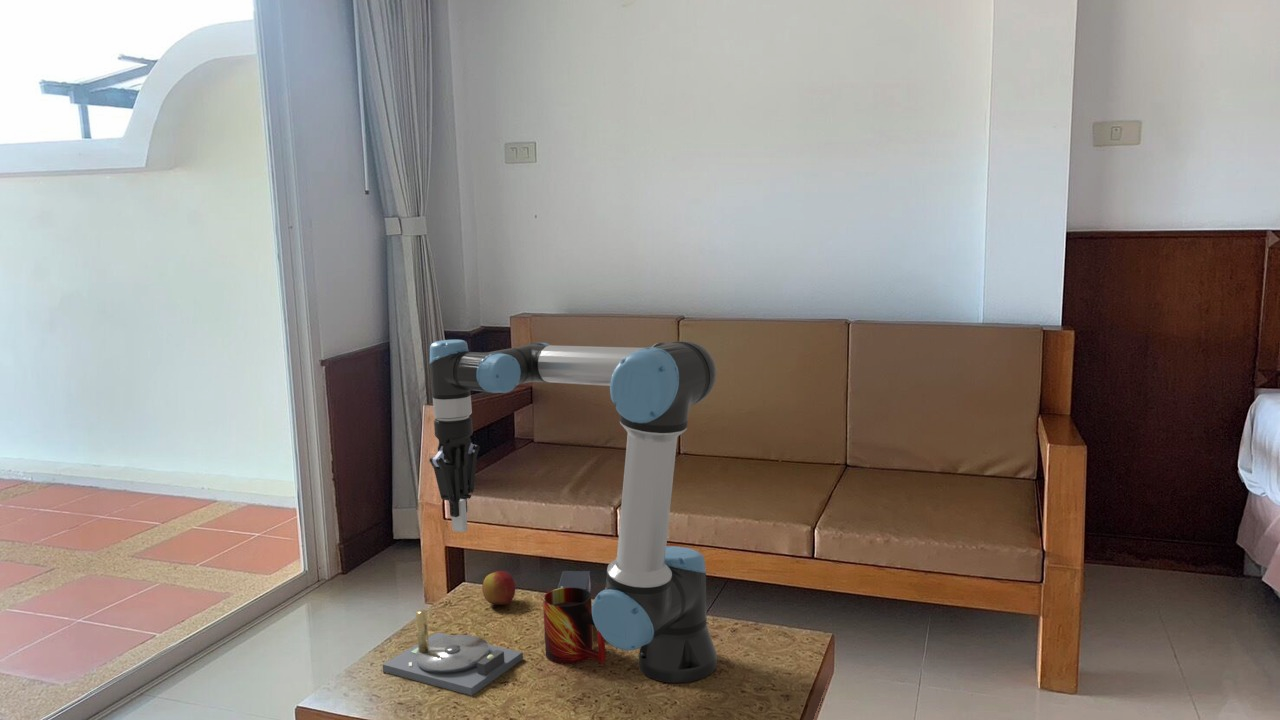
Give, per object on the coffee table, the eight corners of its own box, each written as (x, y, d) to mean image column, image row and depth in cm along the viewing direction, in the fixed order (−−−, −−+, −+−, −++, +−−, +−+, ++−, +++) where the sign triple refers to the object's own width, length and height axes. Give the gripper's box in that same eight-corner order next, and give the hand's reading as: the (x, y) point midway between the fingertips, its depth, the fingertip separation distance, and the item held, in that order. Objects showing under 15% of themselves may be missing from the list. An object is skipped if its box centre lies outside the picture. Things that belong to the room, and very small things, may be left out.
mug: (604, 669, 180) (602, 610, 178) (538, 662, 183) (535, 604, 182) (619, 647, 189) (617, 590, 187) (556, 640, 193) (553, 585, 191)
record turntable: (522, 659, 185) (521, 639, 184) (471, 695, 171) (470, 674, 170) (437, 638, 195) (436, 620, 195) (383, 671, 181) (381, 651, 181)
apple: (521, 598, 215) (519, 565, 214) (509, 612, 207) (508, 578, 206) (490, 597, 217) (488, 564, 215) (477, 611, 209) (475, 577, 208)
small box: (589, 635, 194) (587, 588, 193) (558, 636, 194) (556, 589, 193) (592, 615, 205) (590, 569, 203) (563, 615, 205) (561, 570, 203)
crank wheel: (428, 640, 190) (425, 597, 189) (495, 640, 189) (493, 597, 188) (407, 672, 176) (403, 627, 175) (479, 672, 175) (477, 626, 174)
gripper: (459, 409, 193) (466, 518, 197) (416, 422, 182) (424, 537, 185) (488, 412, 190) (494, 523, 193) (445, 425, 178) (453, 542, 182)
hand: (459, 530), depth 189 cm, fingers closed
